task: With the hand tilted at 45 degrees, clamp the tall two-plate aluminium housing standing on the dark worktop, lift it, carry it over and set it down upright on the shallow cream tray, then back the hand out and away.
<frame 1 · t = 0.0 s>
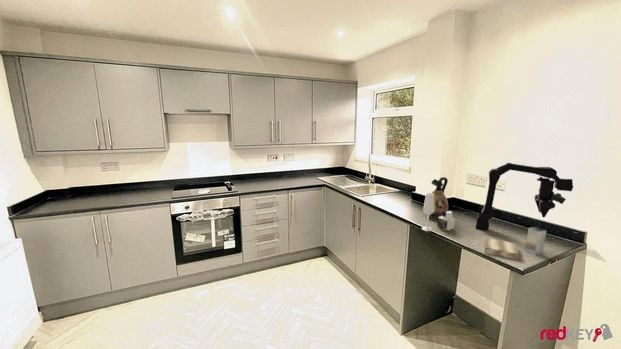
hand: (542, 214, 150), 15 cm above the worktop, tool pointing down, fingers open, 9 cm apart
shallow cream tray: (499, 250, 139), on the worktop
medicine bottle: (445, 228, 169), on the worktop
champagne flute: (427, 229, 168), on the worktop
housing: (533, 252, 136), on the worktop
ceramic jug: (436, 216, 192), on the worktop
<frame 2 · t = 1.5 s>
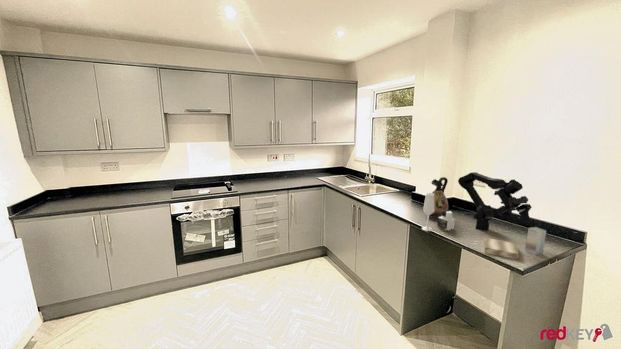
hand: (522, 222, 142), 13 cm above the worktop, tool tilted 45°, fingers open, 9 cm apart
nothing on the worktop moved.
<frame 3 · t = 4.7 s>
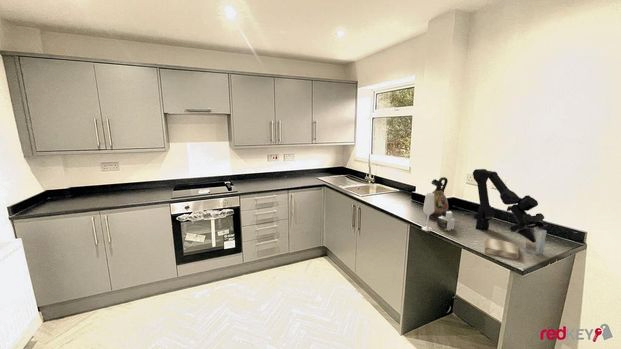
hand: (538, 241, 134), 7 cm above the worktop, tool tilted 45°, fingers closed on housing, 5 cm apart
housing: (533, 252, 136), on the worktop, touching gripper
everything else where it was.
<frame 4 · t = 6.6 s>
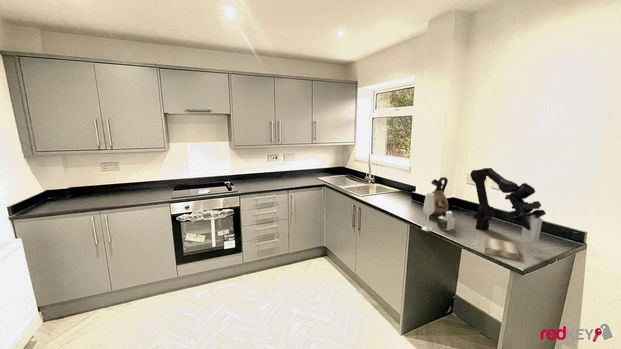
hand: (533, 229, 132), 13 cm above the worktop, tool tilted 45°, fingers closed on housing, 5 cm apart
housing: (529, 240, 135), point 7 cm above the worktop, touching gripper
everything else where it was.
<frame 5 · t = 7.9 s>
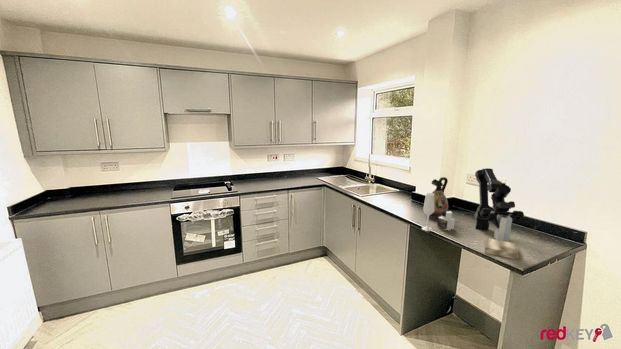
hand: (504, 228, 135), 13 cm above the worktop, tool tilted 45°, fingers closed on housing, 5 cm apart
housing: (501, 239, 137), point 6 cm above the worktop, touching gripper
everything else where it was.
when the fingers open (11 cm above the worktop, at t = 8.7 s): housing drops 1 cm, resting on shallow cream tray.
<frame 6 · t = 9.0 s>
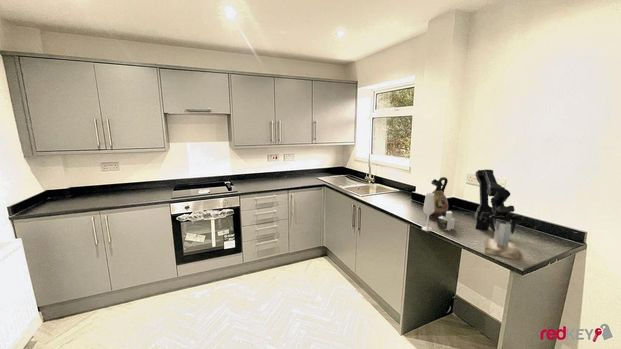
hand: (503, 232, 135), 11 cm above the worktop, tool tilted 45°, fingers open, 8 cm apart
housing: (500, 245, 138), point 3 cm above the worktop, touching shallow cream tray
everything else where it was.
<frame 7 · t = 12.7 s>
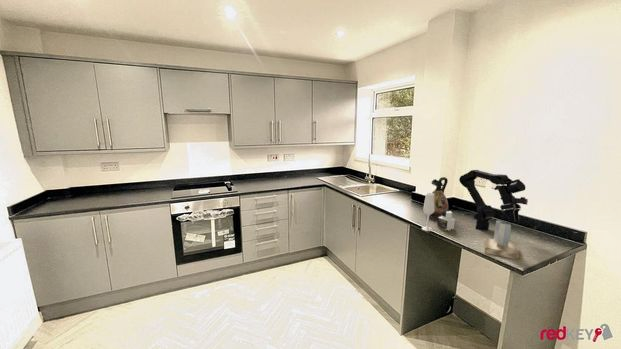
hand: (516, 221, 146), 12 cm above the worktop, tool tilted 30°, fingers open, 9 cm apart
nothing on the worktop moved.
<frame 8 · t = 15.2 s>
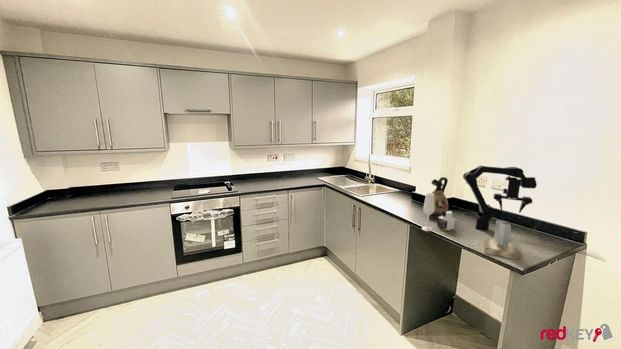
hand: (510, 211, 162), 13 cm above the worktop, tool pointing down, fingers open, 9 cm apart
nothing on the worktop moved.
at the end: housing inside the target area on the shallow cream tray (0.1 cm from its centre), point 3.0 cm above the shallow cream tray's base; housing tilted 0°; the gripper is holding nothing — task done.
